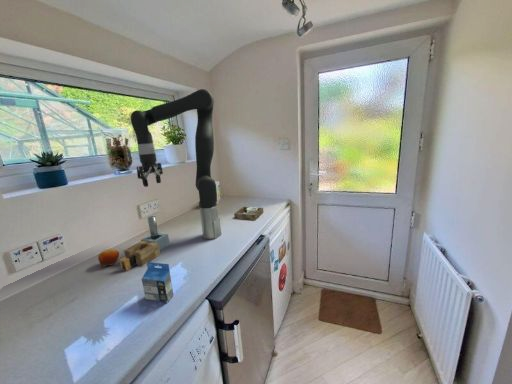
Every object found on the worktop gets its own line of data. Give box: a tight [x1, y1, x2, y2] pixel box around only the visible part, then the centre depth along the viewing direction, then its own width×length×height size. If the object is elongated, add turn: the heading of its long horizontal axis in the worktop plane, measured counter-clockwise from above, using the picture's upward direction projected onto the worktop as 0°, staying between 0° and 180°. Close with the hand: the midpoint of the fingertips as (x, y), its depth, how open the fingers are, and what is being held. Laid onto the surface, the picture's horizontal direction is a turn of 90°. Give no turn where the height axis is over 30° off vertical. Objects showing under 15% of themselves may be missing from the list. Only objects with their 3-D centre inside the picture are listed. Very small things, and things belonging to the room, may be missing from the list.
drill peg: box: [147, 215, 159, 240], centre depth 115 cm, size 4×4×15 cm
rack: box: [140, 232, 170, 251], centre depth 117 cm, size 9×9×6 cm
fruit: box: [97, 248, 120, 268], centre depth 102 cm, size 8×8×8 cm
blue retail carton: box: [141, 261, 174, 303], centre depth 77 cm, size 9×4×12 cm, turn 77°
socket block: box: [123, 240, 161, 267], centre depth 106 cm, size 10×10×6 cm
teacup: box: [246, 206, 259, 214], centre depth 155 cm, size 10×10×5 cm
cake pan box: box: [214, 180, 221, 205], centre depth 182 cm, size 19×5×18 cm, turn 168°
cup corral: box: [233, 206, 264, 221], centre depth 155 cm, size 15×15×4 cm
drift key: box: [119, 253, 137, 272], centre depth 100 cm, size 3×8×5 cm, turn 158°
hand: (152, 184), depth 118 cm, fingers open, 8 cm apart
